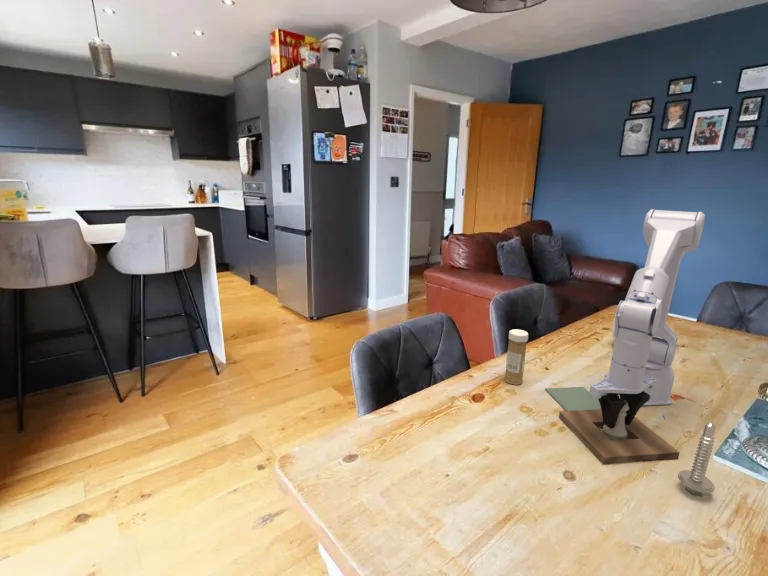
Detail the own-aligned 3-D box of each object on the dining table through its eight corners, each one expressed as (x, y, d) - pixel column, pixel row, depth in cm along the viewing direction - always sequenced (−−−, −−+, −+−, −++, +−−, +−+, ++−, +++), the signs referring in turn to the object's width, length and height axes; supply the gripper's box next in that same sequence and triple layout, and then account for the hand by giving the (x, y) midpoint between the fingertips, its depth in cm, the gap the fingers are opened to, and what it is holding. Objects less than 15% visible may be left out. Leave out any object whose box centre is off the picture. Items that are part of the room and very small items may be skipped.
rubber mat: (583, 388, 100) (583, 386, 100) (609, 410, 90) (610, 409, 90) (545, 389, 98) (545, 388, 98) (567, 412, 89) (568, 411, 89)
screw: (674, 492, 67) (676, 476, 70) (711, 507, 64) (712, 489, 67) (691, 423, 63) (693, 410, 67) (731, 436, 60) (731, 421, 64)
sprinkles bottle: (526, 382, 102) (532, 333, 98) (514, 387, 99) (520, 336, 96) (511, 375, 106) (517, 327, 102) (500, 379, 103) (505, 330, 100)
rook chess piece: (596, 430, 83) (603, 395, 81) (617, 429, 83) (624, 395, 81) (610, 444, 78) (617, 408, 76) (631, 443, 79) (639, 407, 77)
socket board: (622, 413, 89) (623, 407, 89) (678, 459, 75) (679, 452, 74) (558, 417, 87) (559, 411, 87) (603, 464, 73) (604, 457, 72)
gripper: (639, 349, 82) (627, 408, 86) (582, 356, 78) (571, 418, 82) (672, 364, 76) (657, 427, 79) (611, 373, 72) (599, 439, 75)
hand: (616, 424), depth 80 cm, fingers open, 3 cm apart
